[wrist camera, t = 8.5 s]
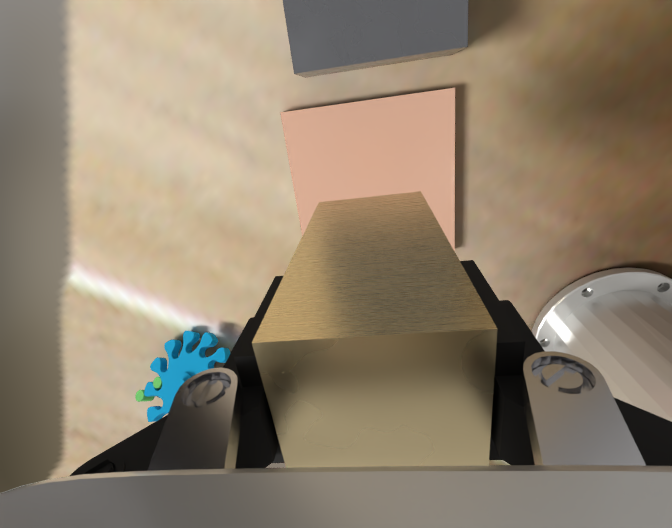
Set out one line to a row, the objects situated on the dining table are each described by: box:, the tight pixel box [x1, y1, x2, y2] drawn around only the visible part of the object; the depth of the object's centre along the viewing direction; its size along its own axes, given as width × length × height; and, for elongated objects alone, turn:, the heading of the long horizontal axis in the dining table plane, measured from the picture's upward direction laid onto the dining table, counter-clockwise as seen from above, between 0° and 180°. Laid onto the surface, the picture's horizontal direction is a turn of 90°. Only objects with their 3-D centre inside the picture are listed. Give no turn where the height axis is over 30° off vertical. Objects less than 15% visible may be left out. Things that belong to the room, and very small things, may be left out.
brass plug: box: [252, 191, 497, 468], centre depth 12 cm, size 4×4×10 cm
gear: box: [136, 331, 230, 422], centre depth 35 cm, size 11×6×10 cm
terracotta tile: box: [281, 88, 455, 250], centre depth 27 cm, size 12×12×1 cm
